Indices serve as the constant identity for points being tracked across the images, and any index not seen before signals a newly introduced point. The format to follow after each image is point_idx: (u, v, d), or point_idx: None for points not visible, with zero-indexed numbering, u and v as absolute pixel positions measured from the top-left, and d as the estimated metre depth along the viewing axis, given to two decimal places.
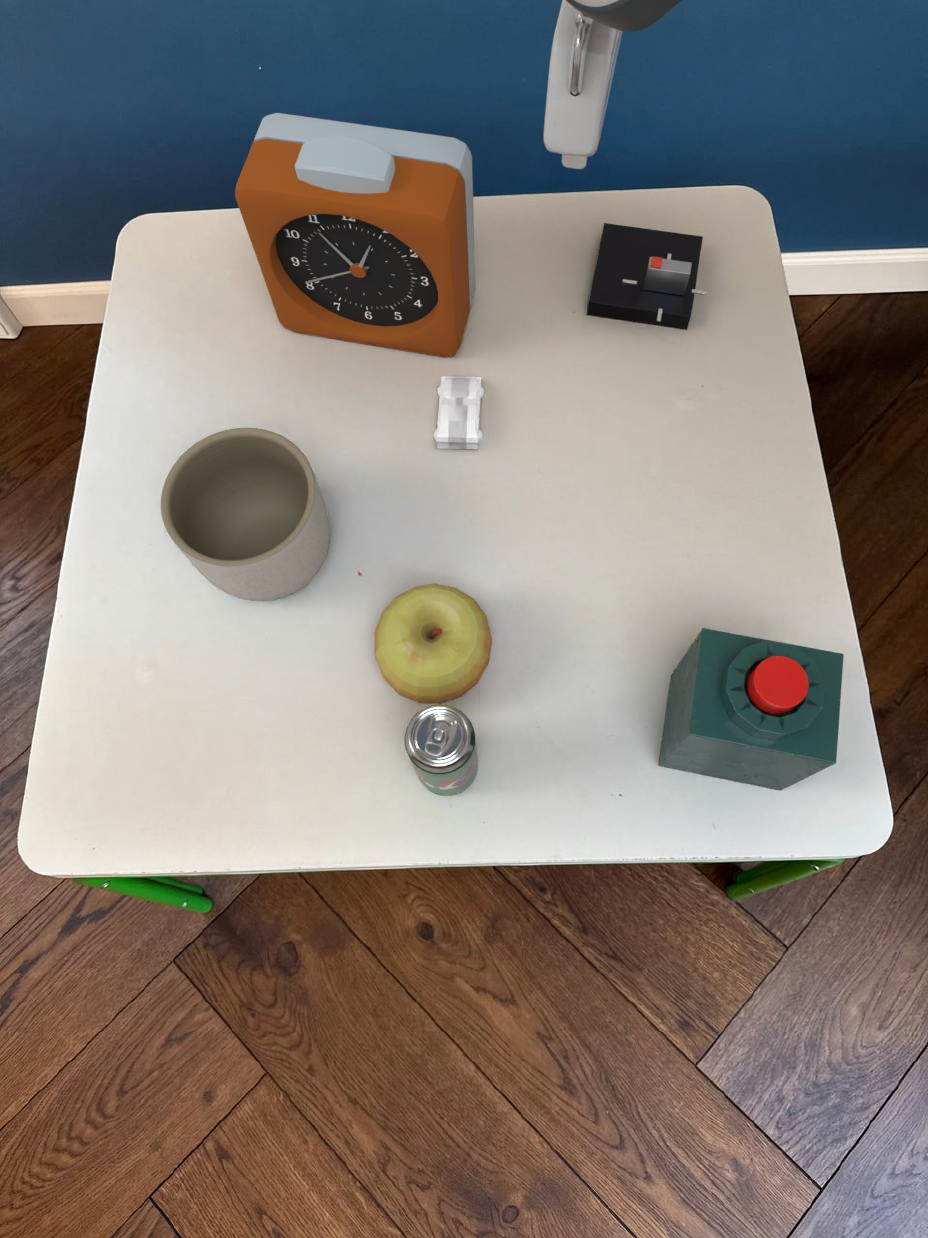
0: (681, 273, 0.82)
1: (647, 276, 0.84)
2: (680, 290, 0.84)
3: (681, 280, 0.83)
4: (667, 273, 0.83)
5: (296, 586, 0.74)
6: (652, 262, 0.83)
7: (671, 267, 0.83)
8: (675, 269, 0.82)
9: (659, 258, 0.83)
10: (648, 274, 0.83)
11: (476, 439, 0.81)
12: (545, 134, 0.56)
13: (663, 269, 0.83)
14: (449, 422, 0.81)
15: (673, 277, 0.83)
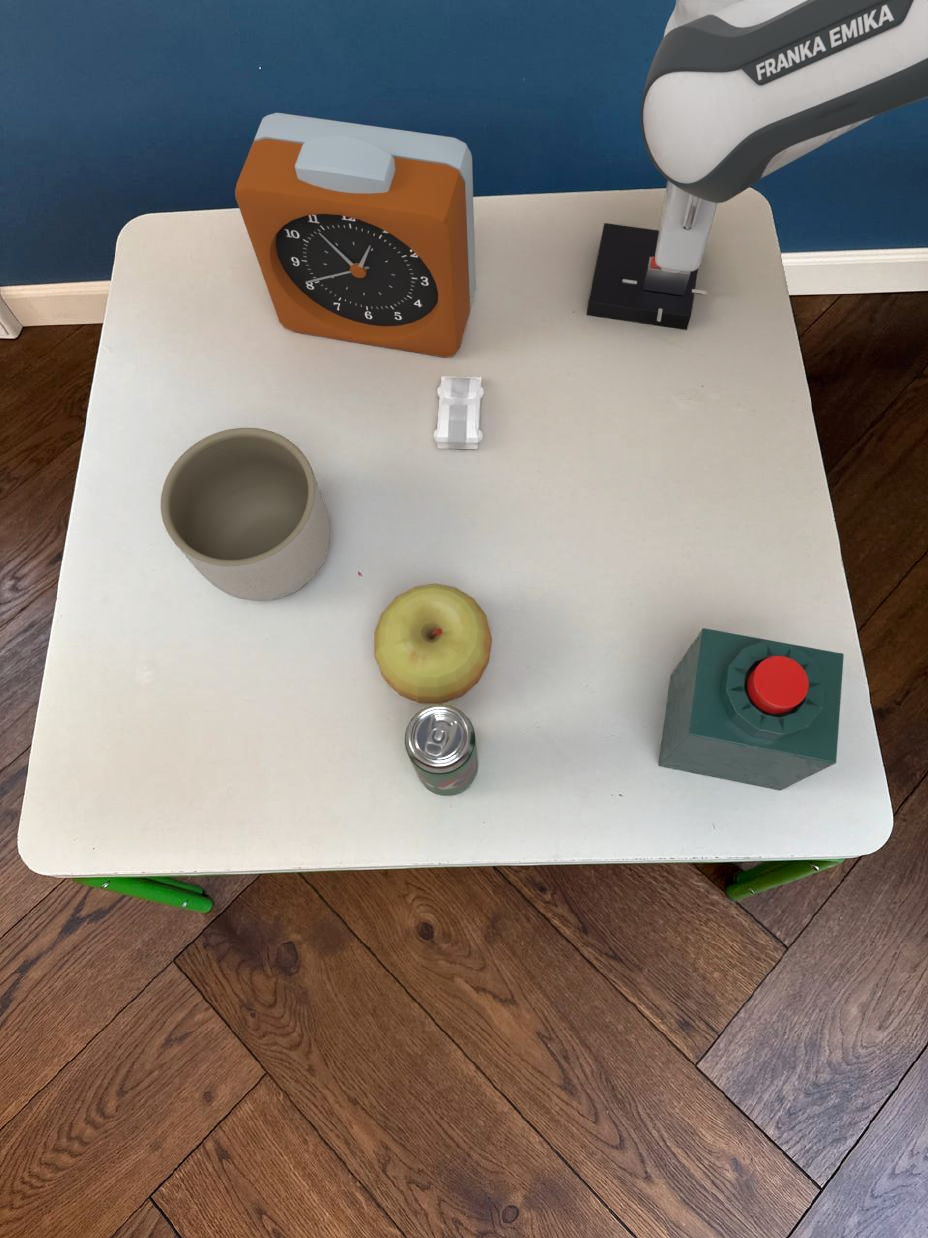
0: (681, 273, 0.82)
1: (647, 276, 0.84)
2: (680, 290, 0.84)
3: (681, 280, 0.83)
4: (667, 273, 0.83)
5: (296, 586, 0.74)
6: (652, 262, 0.83)
7: None
8: None
9: None
10: (648, 274, 0.83)
11: (476, 439, 0.81)
12: (658, 255, 0.69)
13: None
14: (449, 422, 0.81)
15: (673, 277, 0.83)
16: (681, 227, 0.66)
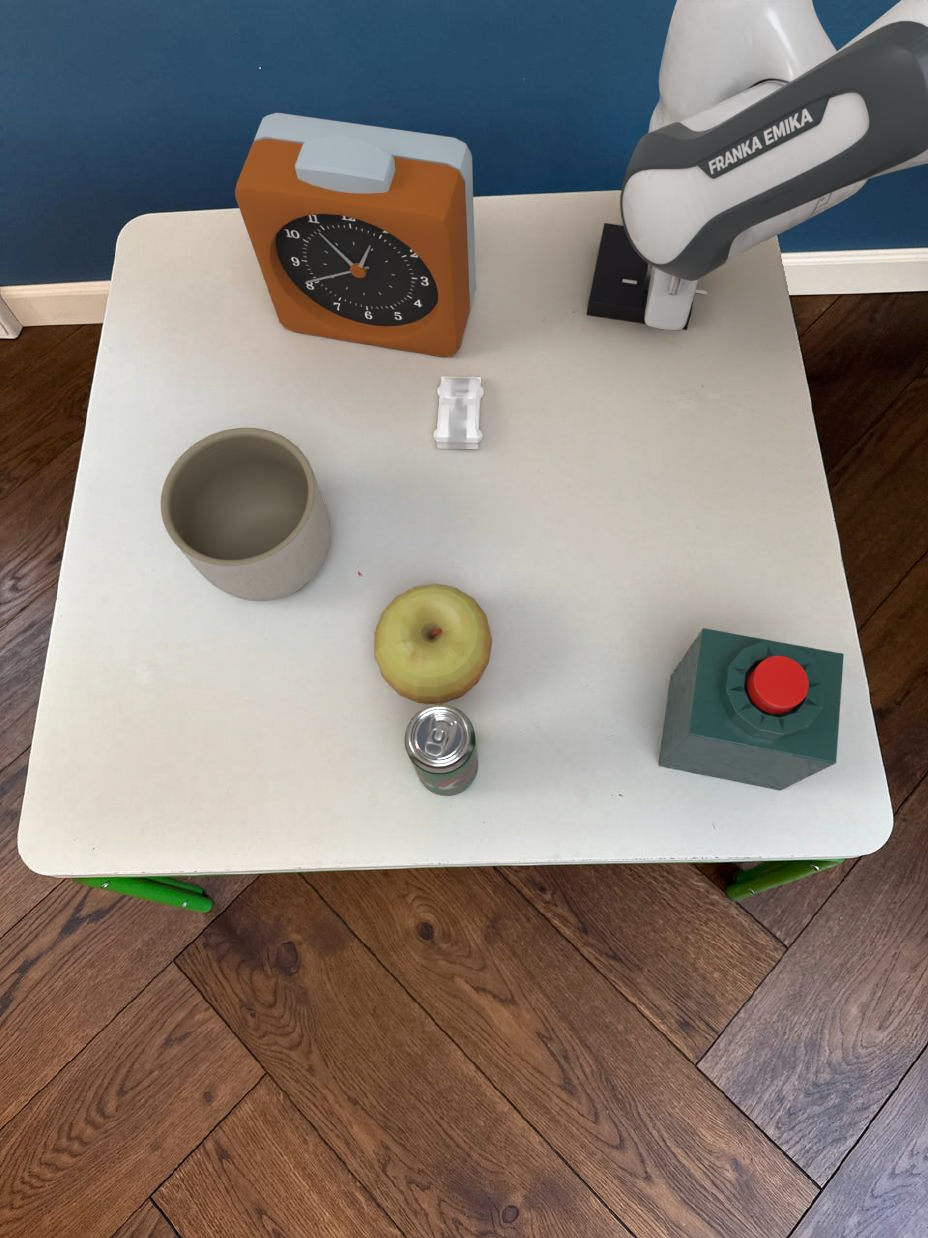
0: None
1: (647, 276, 0.84)
2: None
3: None
4: None
5: (296, 586, 0.74)
6: None
7: None
8: None
9: None
10: (648, 275, 0.83)
11: (476, 439, 0.81)
12: (647, 317, 0.76)
13: None
14: (449, 422, 0.81)
15: None
16: (668, 293, 0.73)
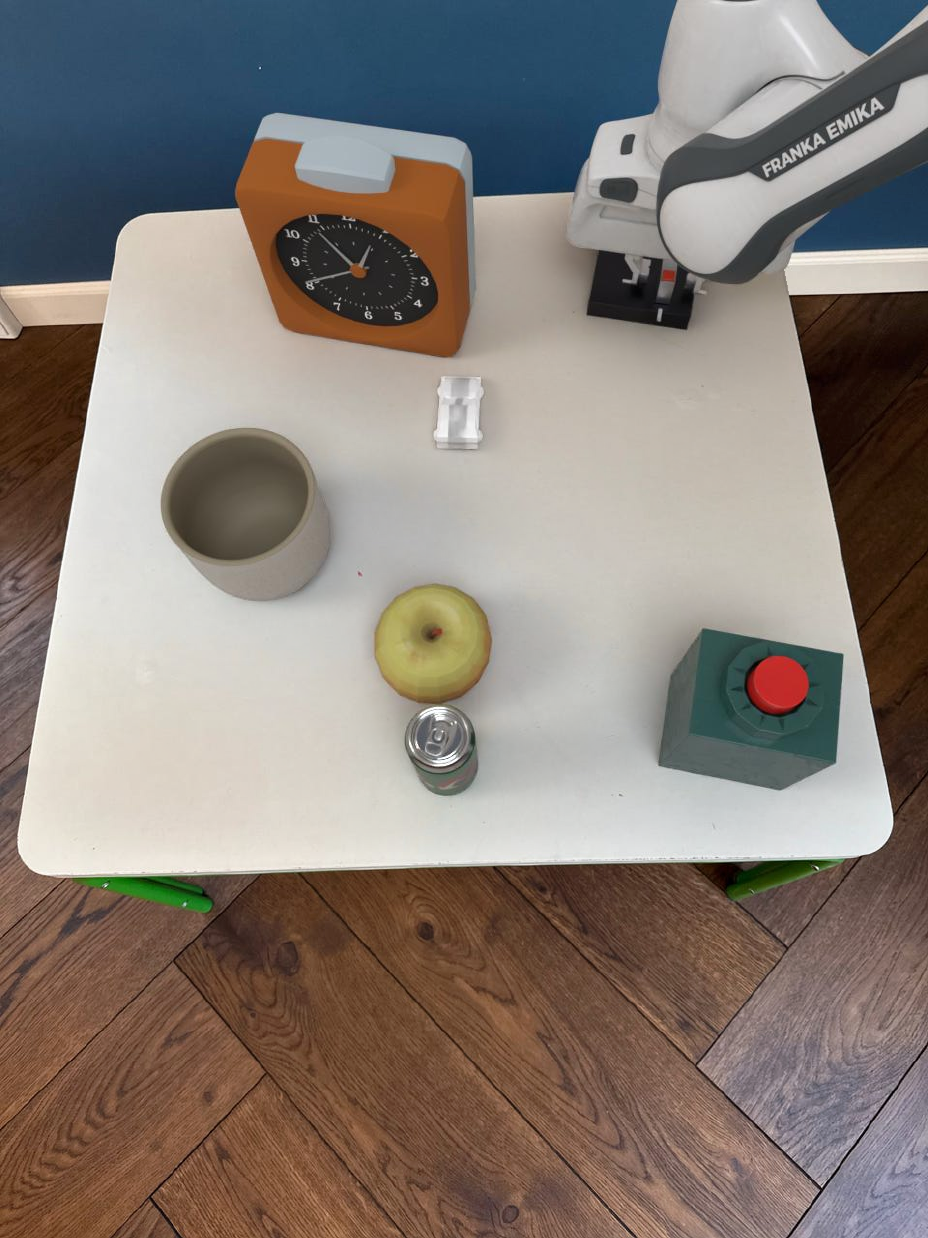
0: None
1: None
2: None
3: None
4: (676, 269, 0.83)
5: (296, 586, 0.74)
6: (670, 277, 0.82)
7: (673, 264, 0.83)
8: None
9: (664, 271, 0.82)
10: (673, 287, 0.83)
11: (476, 439, 0.81)
12: (788, 261, 0.77)
13: (675, 270, 0.82)
14: (449, 422, 0.81)
15: None
16: None
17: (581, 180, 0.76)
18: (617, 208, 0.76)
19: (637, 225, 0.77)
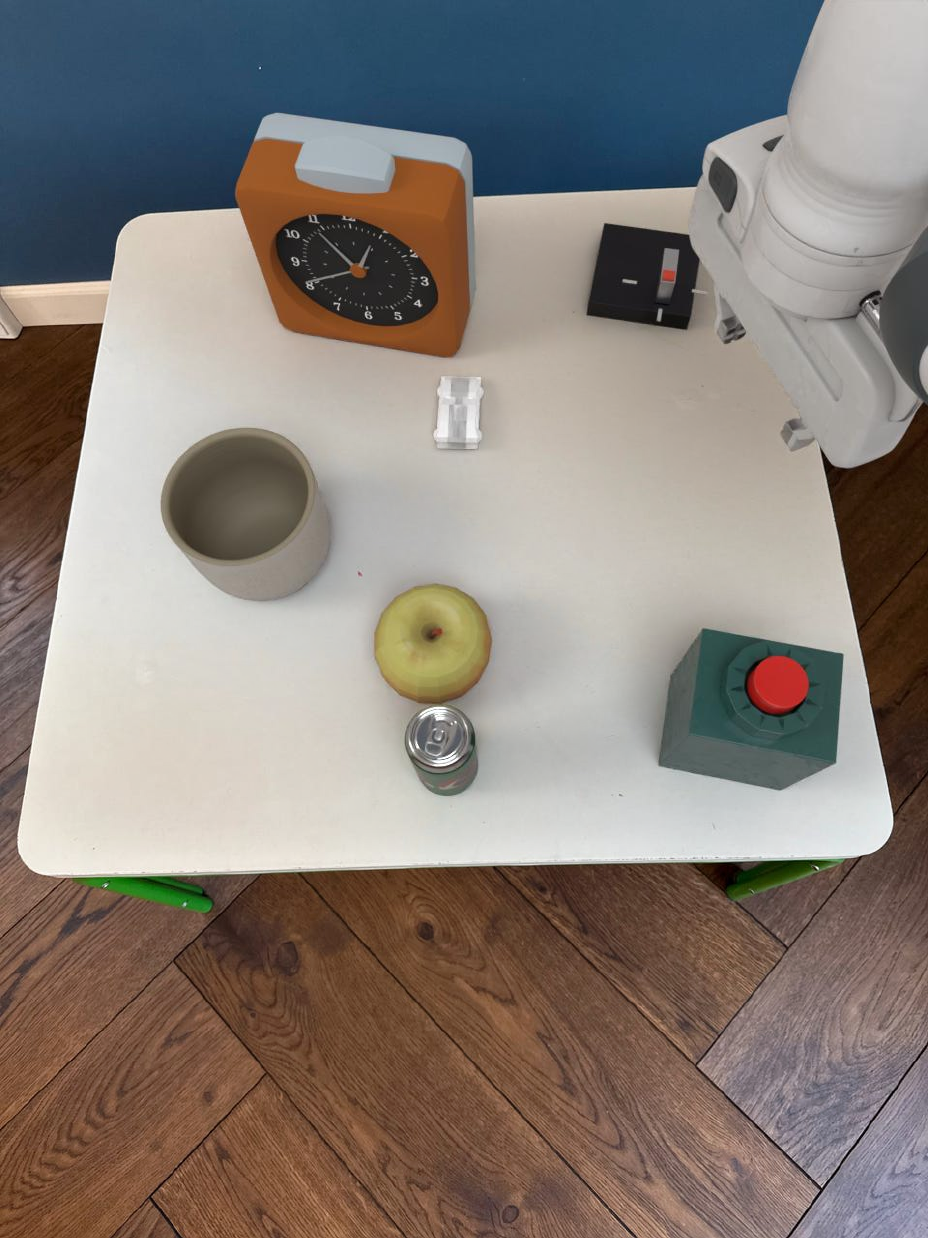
0: None
1: None
2: None
3: None
4: (676, 269, 0.83)
5: (296, 586, 0.74)
6: (670, 277, 0.82)
7: (673, 264, 0.83)
8: (675, 260, 0.83)
9: (664, 271, 0.82)
10: (673, 287, 0.83)
11: (476, 439, 0.81)
12: (850, 460, 0.50)
13: (675, 270, 0.82)
14: (449, 422, 0.81)
15: None
16: (887, 422, 0.48)
17: None
18: None
19: (741, 265, 0.53)
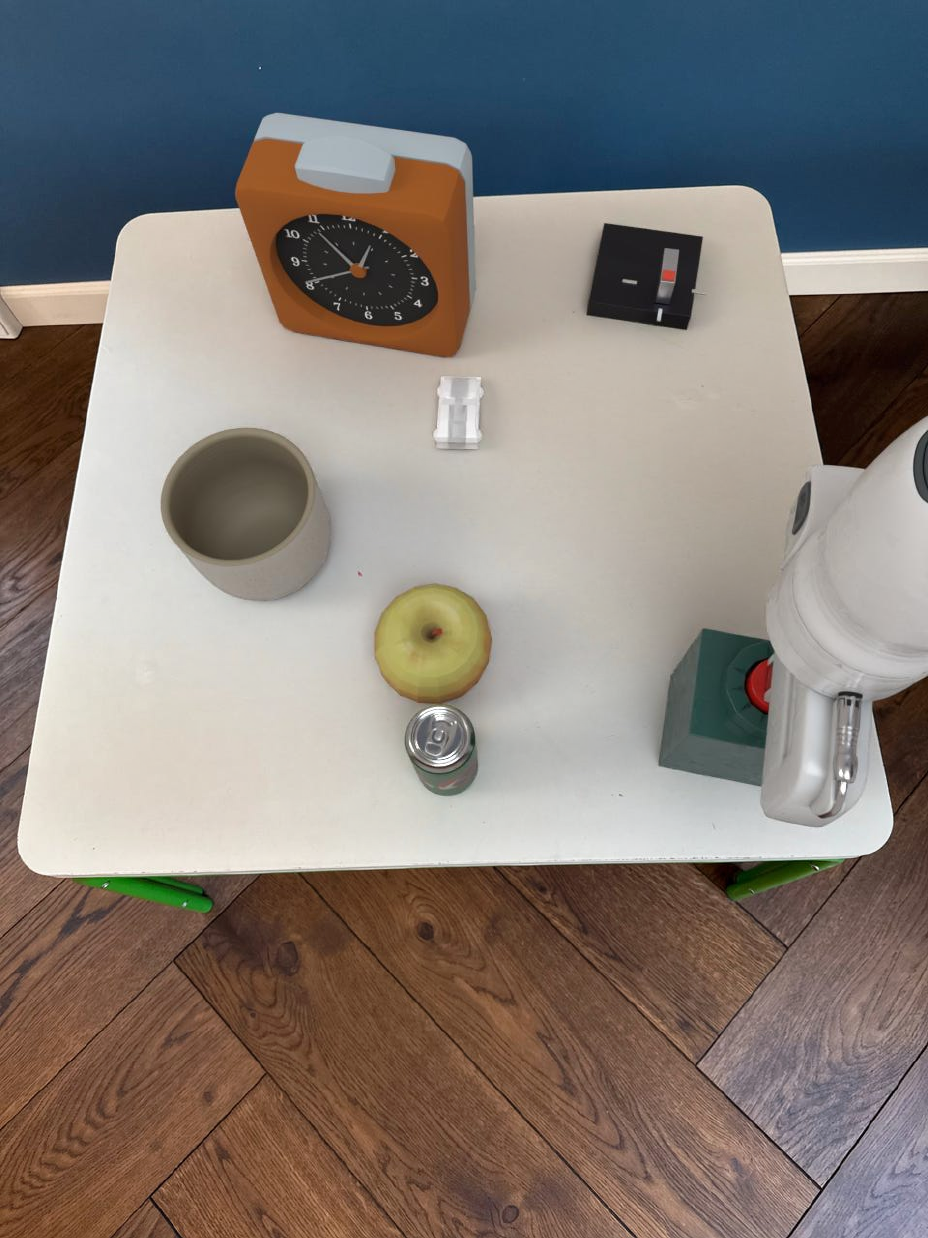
0: None
1: None
2: None
3: None
4: (676, 269, 0.83)
5: (296, 586, 0.74)
6: (670, 277, 0.82)
7: (673, 264, 0.83)
8: (675, 260, 0.83)
9: (664, 271, 0.82)
10: (673, 287, 0.83)
11: (476, 439, 0.81)
12: (768, 813, 0.49)
13: (675, 270, 0.82)
14: (449, 422, 0.81)
15: None
16: (808, 806, 0.47)
17: None
18: None
19: None
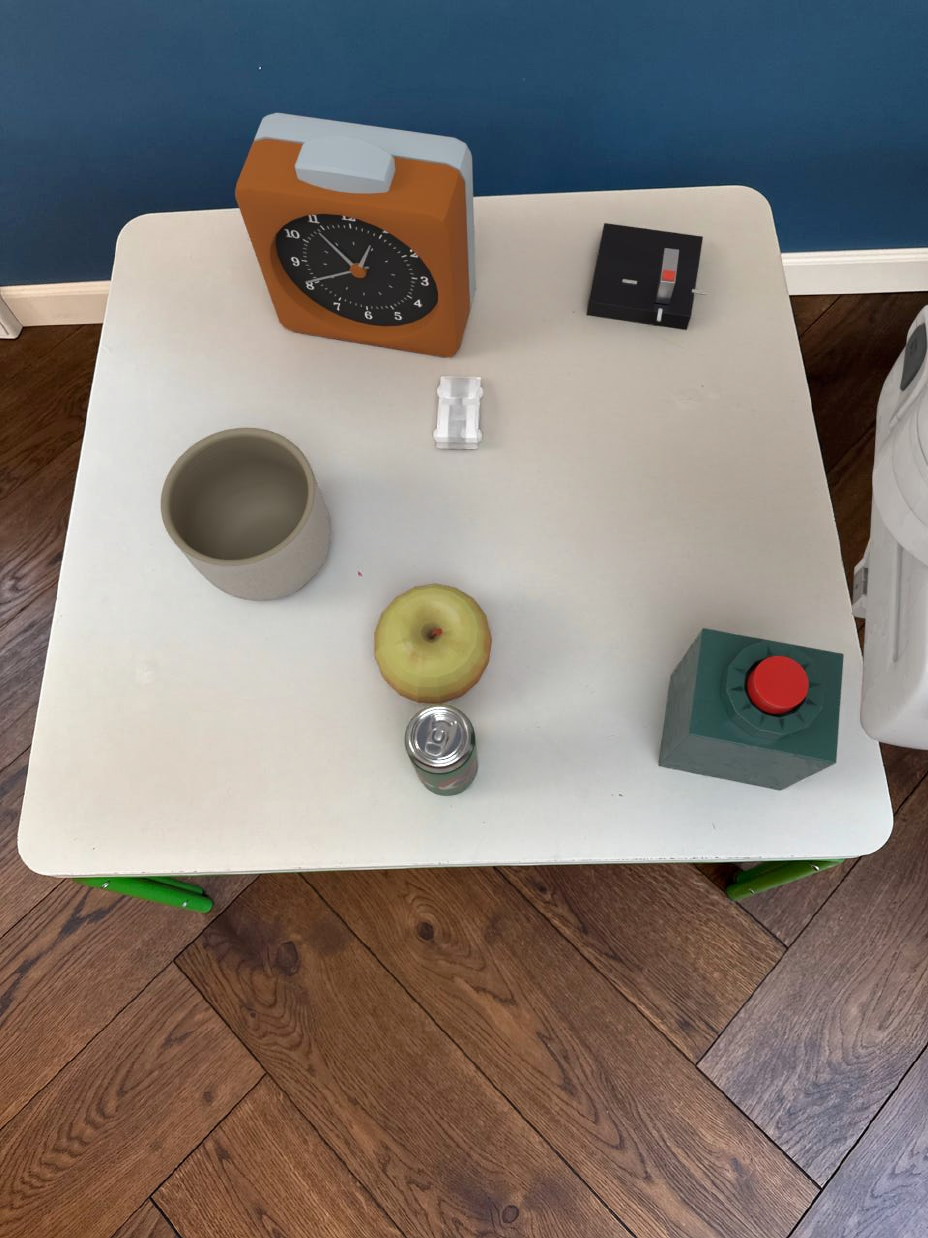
0: None
1: None
2: None
3: None
4: (676, 269, 0.83)
5: (296, 586, 0.74)
6: (670, 277, 0.82)
7: (673, 264, 0.83)
8: (675, 260, 0.83)
9: (664, 271, 0.82)
10: (673, 287, 0.83)
11: (476, 439, 0.81)
12: (874, 732, 0.41)
13: (675, 270, 0.82)
14: (448, 422, 0.81)
15: None
16: None
17: None
18: None
19: None
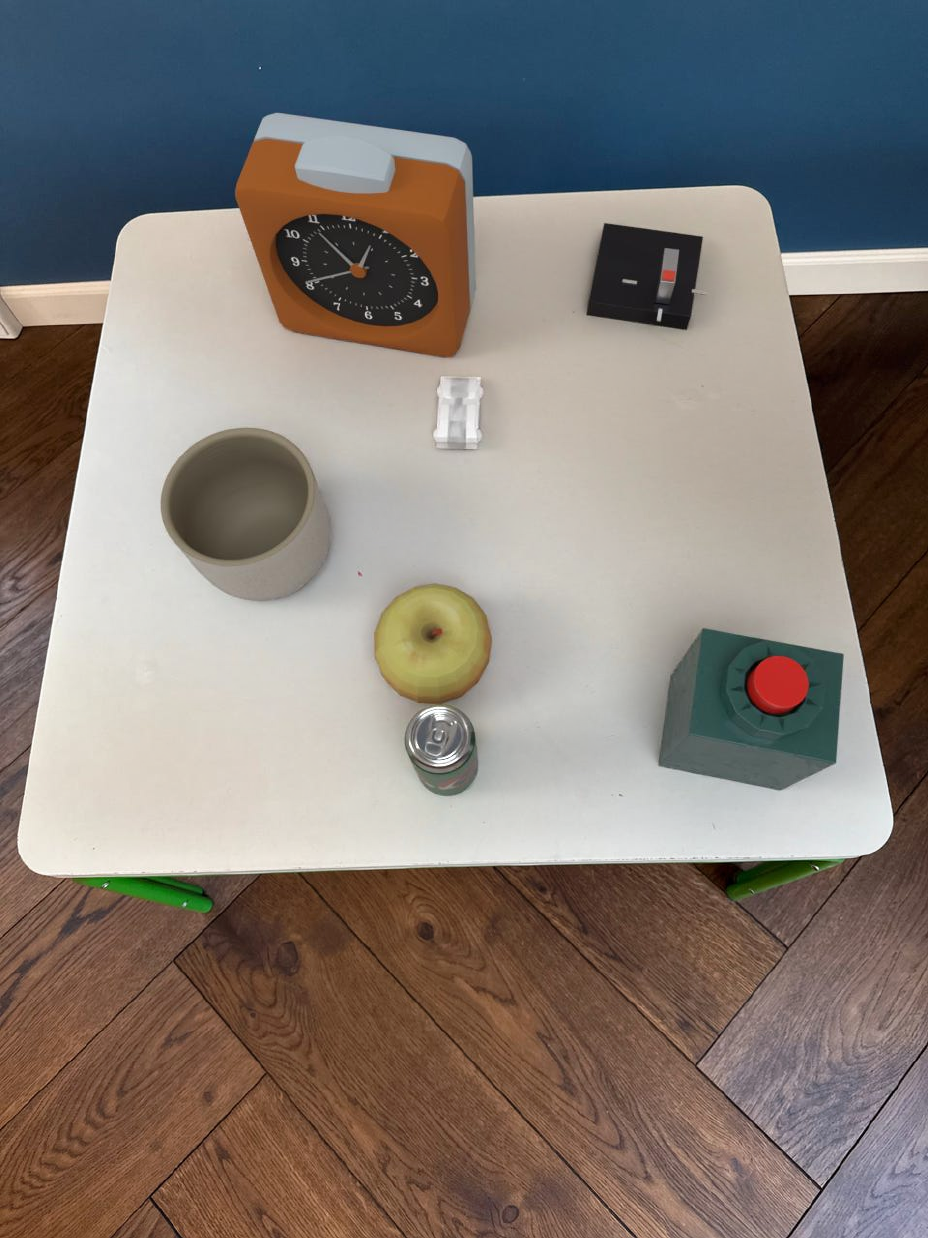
0: None
1: None
2: None
3: None
4: (676, 269, 0.83)
5: (296, 586, 0.74)
6: (670, 277, 0.82)
7: (673, 264, 0.83)
8: (675, 260, 0.83)
9: (664, 271, 0.82)
10: (673, 287, 0.83)
11: (475, 439, 0.81)
12: None
13: (675, 270, 0.82)
14: (448, 422, 0.81)
15: None
16: None
17: None
18: None
19: None
